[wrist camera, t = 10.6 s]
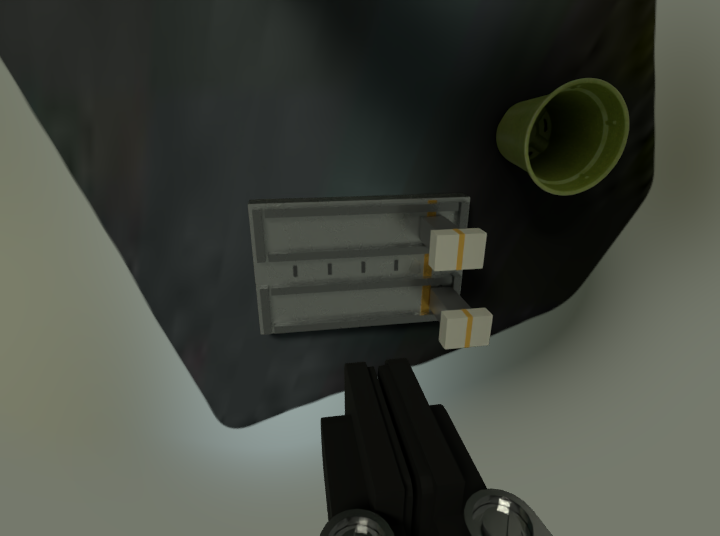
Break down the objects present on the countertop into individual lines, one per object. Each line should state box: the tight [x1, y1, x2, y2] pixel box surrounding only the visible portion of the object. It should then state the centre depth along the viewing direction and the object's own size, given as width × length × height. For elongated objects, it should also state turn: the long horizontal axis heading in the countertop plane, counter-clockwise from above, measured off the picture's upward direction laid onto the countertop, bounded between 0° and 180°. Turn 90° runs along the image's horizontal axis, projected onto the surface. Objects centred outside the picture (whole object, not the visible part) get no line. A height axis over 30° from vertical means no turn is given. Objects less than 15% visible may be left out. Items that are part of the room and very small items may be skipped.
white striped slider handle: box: [419, 216, 487, 271], centre depth 38 cm, size 3×4×8 cm
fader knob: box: [429, 287, 493, 349], centre depth 41 cm, size 3×4×8 cm
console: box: [248, 193, 470, 335], centre depth 43 cm, size 14×22×3 cm, turn 90°
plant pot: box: [496, 78, 629, 196], centre depth 38 cm, size 9×9×9 cm
